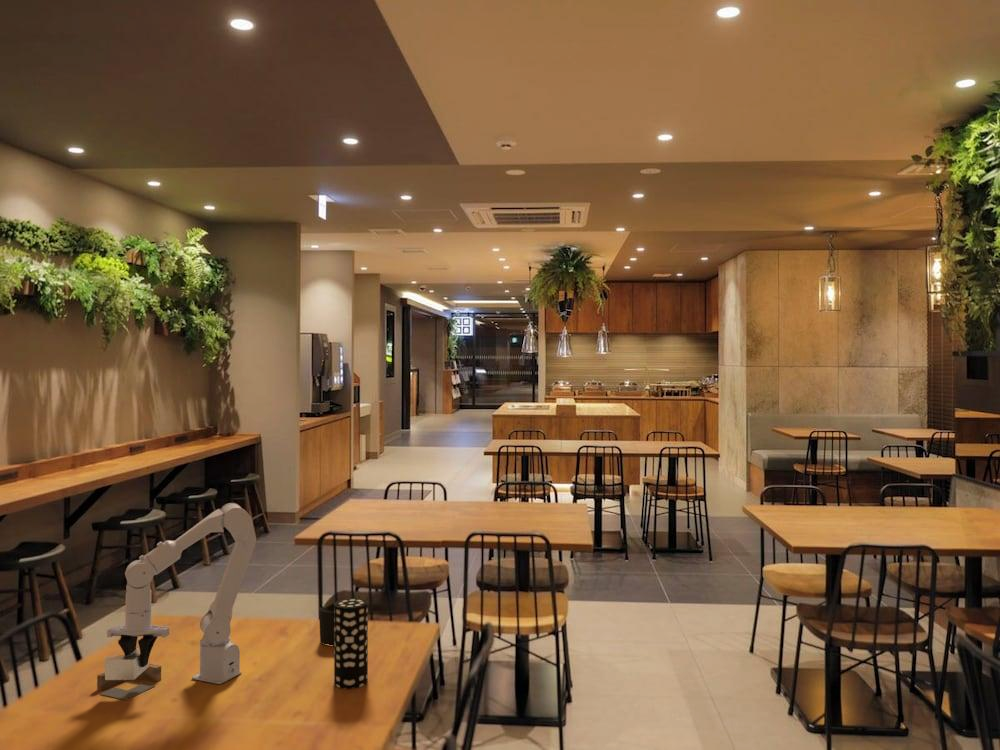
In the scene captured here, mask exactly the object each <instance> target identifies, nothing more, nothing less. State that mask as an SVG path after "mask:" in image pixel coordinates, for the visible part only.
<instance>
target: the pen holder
mask: <svg viewBox="0 0 1000 750" xmlns="http://www.w3.org/2000/svg"><path fill="white" fill-rule="evenodd" d="M334 604H335V602H332V603H331V604H328V605H326V606H325V607H321V606H320V607H318V613H319V614H318V615H319V616H318V617H319V620H318V621H319V641H320V643H321V642H322V643H324V644H329V645H334ZM322 643H321V644H322Z"/></svg>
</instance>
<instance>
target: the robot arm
mask: <svg viewBox="0 0 1000 750" xmlns="http://www.w3.org/2000/svg"><path fill="white" fill-rule="evenodd" d="M253 523H254V522H253V519H252V517H251V516H250V515H249V513H248V512H247V510H245V509H244V508H242V507H241V506H240V505H239V504H238V503H235V502H229V503H226V504H224V505H223V506H222V507H221V508H217V509H216V510H214V511H212V512H211V513H210V514H208V515H207V516H206V517H204V518H203V519H201V520H200V521H199V522H198V523H196V524H195V525H193V526H192V527H191V528H190V529H188V530H187V531H186V532H184V533H182V534H181V536H178V537H177V538H176V539H175V540H165V541H164V542H162V541H159V542H158V543H157V544H156V547H154V548H153V549H152V550H151V551H148V552H147V553H146V554H145V555H143V554H141V555H140V556H139V557H138V558H139V559H138V560H137V559H136V560H133V561H132V562H130V563H129V564H128V565H127V566H126V568H125V571H124V575H125V579H126V585H125V588H126V589H125V590H126V592H125V620H124V621H125V623H124V624H125V625H121V626H111V627H109V628H107V630H106V637H107V638H112V637H120V638H119V639H118V640H117V643H118V645H119V647H120V648H121V650H122V652H123V653H124V654H123V655H130V654H131V653H132V652H133V651H134V650H136V649H137V643H138V646H139V648H140V664H141V667H145V666H146V665H147V664H148V663H149V659H150V655H151V652H152V649H153V646H154V645H155V643H156V641H157V639H158V637H161V638H167V637H168V636H169V635H170V627H169V626H161V625H154V624H152V592H153V591H152V589H151V582H152V581H153V579H154V578H153V577H154V576H156V575H159V574H160V573H162V572H163V571H164V570H166V569H168V567H170V566H171V565H173V564H175V563H176V562H177V561H178V560H180V559H181V557H182V552H183V551H185V550H186V549H188V548H190V546H192V545H193V544H194V545H195V543H196V542H198V541H200V540H202V539H203V538H204V537H206V536H208V535H209V534H210V533H211V534H212V533H224V532H225V531H224V528H225V529H226V530H227V531H228V532H229V533H230V534H231V537H232V538H233V540H234V542H235V543H234V546H233V547H232V551H231V553H230V557H229V559H228V562H227V565H226V567H225V570H224V573H223V576H222V579H221V581H220V583H219V586H218V589H217V592H216V595H215V597H214V600H213V601H212V603H211V604H210V606H209V607H208V610H207V612H206V613H205V614H204V615H203V616H202V617H201V619H200V622H199V628H200V630H201V632H202V634H203V636H202V637H201V639H200V640H199V673H196V674H195V675H193V676H192V677H191V679H193V680H197V681H201V682H206V683H211V684H217V685H221V684H223V683H225V682H227V681H229V680H231V679H233V678H235V677H237V676H238V675H240V674H242V673H243V671H242V670H240V667H241V666H240V660H241V659H240V656H241V654H240V648H239V646H238V645H237V644H236V643H233V642H232V641H231V637H230V635H231V631H232V630H231V622H232V617H233V609H234V604H235V602H236V599H237V598H238V597H237V596H238V594H239V590H240V588H241V586H242V582H243V580H244V577H245V574H246V572H247V569H248V566H249V563H250V561H251V557H252V555H253V552H254V549H255V547H256V544H257V536H256V532H255V529H254V524H253ZM139 637H142V638H140V639H138V638H139Z"/></svg>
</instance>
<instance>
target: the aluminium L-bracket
mask: <svg viewBox="0 0 1000 750" xmlns="http://www.w3.org/2000/svg"><path fill="white" fill-rule="evenodd" d="M149 664H150V663H149ZM149 664H147V665H146V666H145V667H141V664H140V648H139V647H136V650H134V651H133V652H132V653H131V654H130V655H125V654H109V656H107V657H106V658H105V659H104V673H105V680H125V681H135V680H136V679H138V678H137V677H138V676H139V675H140V674H141V673H142V672H144V671H145V670H146V669H147V668H148V667H149Z"/></svg>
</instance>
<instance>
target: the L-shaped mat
mask: <svg viewBox="0 0 1000 750" xmlns="http://www.w3.org/2000/svg"><path fill="white" fill-rule="evenodd" d="M155 686H156V685H153V684H149V683H144V682H143V683H140V684H139V685H137V686H135V687H132V688H130V689H123V688H119V687H113V688H110V689H107V690H106V691H104V692H102V693H99V695H101V696H104V697H109V698H111V699H112V698H113V699H118V700H122V701H127V700H130V699H132V698H133V697H136V696H138V695H140V694H143V693H144V692H147V691H149V690H151V689H153V688H155Z"/></svg>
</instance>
